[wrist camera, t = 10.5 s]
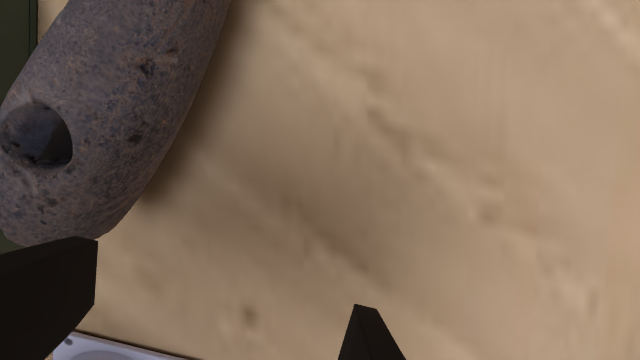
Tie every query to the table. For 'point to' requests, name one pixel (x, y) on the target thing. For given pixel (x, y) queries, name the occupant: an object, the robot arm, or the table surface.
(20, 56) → the dish
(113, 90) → the perforated stone tool
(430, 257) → the table surface
